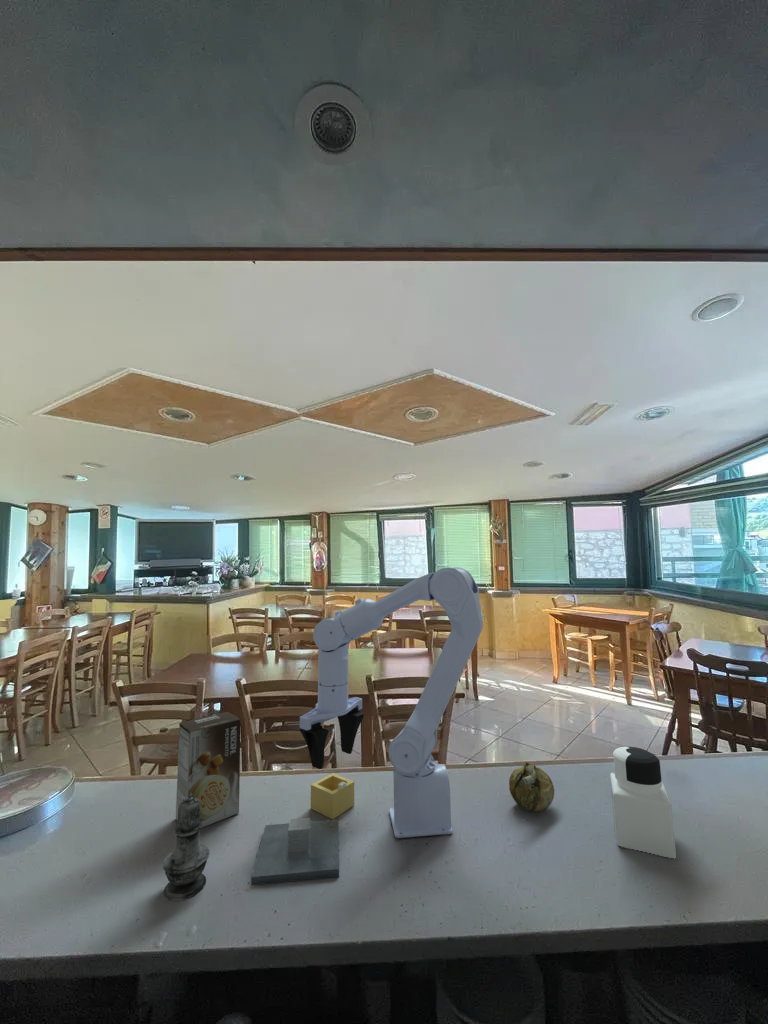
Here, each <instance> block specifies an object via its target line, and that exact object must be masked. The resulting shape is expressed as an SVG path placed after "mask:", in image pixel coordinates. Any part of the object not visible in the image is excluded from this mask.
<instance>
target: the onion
mask: <svg viewBox="0 0 768 1024" xmlns="http://www.w3.org/2000/svg"><path fill="white" fill-rule="evenodd" d="M508 781H509V783H508V786H509V792H510V793H509V794H510V796H511V797H512V799H513V801H514V802H515V803H516V805H518V806H519V808H521V809H523V810H525V811H529V812H537V813H539V812H542V811H544V810H546V809H548V808H549V807H550V806H551V804H552V803H553V800H554V798H555V787H554V784H553V781H552V779H551V776H549V775H548V773H546V772H545V771H544V770H543V769H542V768H540V767H539V766H537V765H535V764H534V765H532V764H531V763H530V762H529V761H525V762H524V764H523V766H521V767H519V768H517V769H513V771H512V772H511V774H510V776H509V780H508Z"/></svg>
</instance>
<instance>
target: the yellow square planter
mask: <svg viewBox="0 0 768 1024" xmlns="http://www.w3.org/2000/svg"><path fill="white" fill-rule="evenodd" d="M353 806H355V781H354V780H351V779H349V778H347V777H344V776H343V775H342V776H341V775H339V774H336V773H333V772H332V773H330V774H328V775H326V776H325V777H323V778H320V779H318V780H317V781H315V782H313V783H311V784H310V809H311V810H312V811H315V812H317V813H320V814H321V815H323V816H325V817H327V818H329V819H330V820H335V819H336V818H337V817H338V816H340V815H342V814H343V813H344V812H346V811H347V810H349V809H350V808H352V807H353Z"/></svg>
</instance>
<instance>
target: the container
mask: <svg viewBox="0 0 768 1024" xmlns="http://www.w3.org/2000/svg"><path fill="white" fill-rule="evenodd" d="M612 755H613V756H612V757H613V770H614V772H611V773H610V774H609V777H610V788H611V789H610V790H611V800H612V801H611V802H612V814H613V816H612V817H613V825H614V832H615V841H616V845H617V846H618V845H619V846H622V847H621V848H623V847H626V848H625V849H628V848H630V849H629V850H632V849H634V850H633V851H636V850H639V851H638V852H640V851H643V852H642V853H645V852H647V853H646V854H649V853H651V854H650V855H653V854H655V856H658V855H659V857H662V856H663V858H666V857H668V858H667V859H671V858H674V859H673V860H676V859H677V852H676V851H677V850H676V841H675V831H674V821H673V810H672V804H671V801H670V799H669V796H668V793H667V790H666V787H665V785H664V782H663V781H662V771H661V761H660V759H659V758H658V756H657V755H656V754H654V753H652V752H651V751H648V750H646V749H644V748H640V747H636V746H621V747H617V748H615V749H614V751H613V753H612ZM619 846H618V847H619ZM635 849H636V850H635ZM675 858H676V859H675Z"/></svg>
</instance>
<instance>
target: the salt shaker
mask: <svg viewBox="0 0 768 1024" xmlns="http://www.w3.org/2000/svg"><path fill="white" fill-rule="evenodd" d="M187 796H188V798H187V799H185V800H183V801H182V802H181V803H180V804H179V807H178V821H177V820H176V821H177V825H176V826H175V828H174V829H173V833H174V835H175V847H174V850H173V851H172V852H170V853H169V854H168V855H167V856H166V857H165V858H164V860H163V861H162V862H163V863H162V868H163V870H164V873H165V876H166V878H167V881H168V883H167V884H166V885H165V886H164V890H163V896H164V898H165V899H166V898H167V899H166V900H167V901H170V902H183V901H185V900H188V899H191V898H193V897H196V895H198V894H199V893H200V892H202V891H203V889H204V888H205V886H206V883H207V877H206V875H205V874H203V872H204V870H205V869H206V868H205V867H206V865H207V862H208V859H209V857H210V855H211V854H210V853H211V852H210V849H209V847H208V846H206V845H204V844H201V843H200V831H201V829H203V827H202V823H201V822H200V801H199V800H198V799H197V798H194V797H191V796H192V793H191V792H189V794H188V795H187Z"/></svg>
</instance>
